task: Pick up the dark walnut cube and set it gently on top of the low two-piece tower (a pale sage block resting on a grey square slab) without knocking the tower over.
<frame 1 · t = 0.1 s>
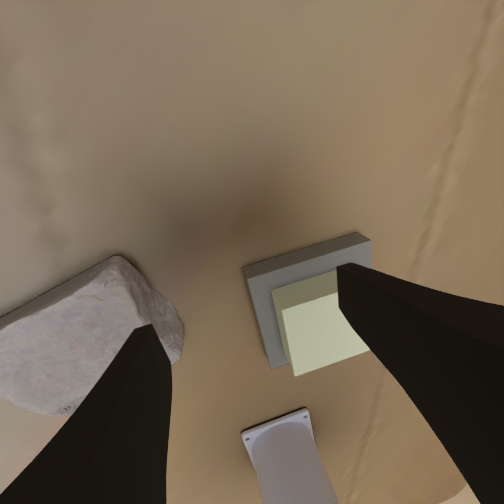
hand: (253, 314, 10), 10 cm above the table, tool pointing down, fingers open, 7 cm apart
grey square slab: (305, 293, 24), on the table, touching sage block
stone block: (100, 329, 21), on the table
sage block: (317, 310, 22), point 2 cm above the table, touching grey square slab
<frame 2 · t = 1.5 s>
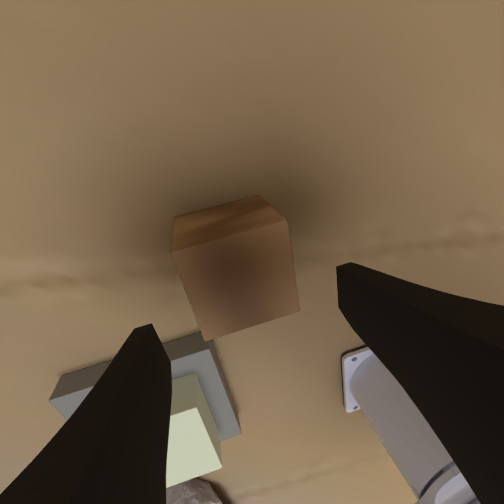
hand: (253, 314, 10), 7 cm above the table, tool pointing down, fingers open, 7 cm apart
walnut cube: (227, 243, 16), on the table
grey square slab: (162, 389, 21), on the table, touching sage block
sage block: (159, 420, 19), point 2 cm above the table, touching grey square slab
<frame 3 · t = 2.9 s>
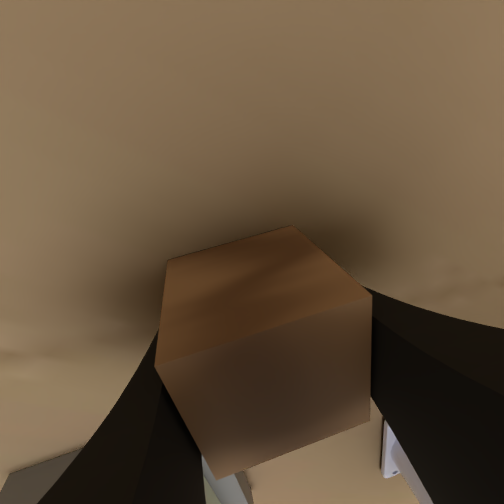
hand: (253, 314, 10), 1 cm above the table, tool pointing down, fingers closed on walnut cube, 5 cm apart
walnut cube: (245, 293, 11), on the table, touching gripper
grey square slab: (153, 470, 16), on the table, touching sage block
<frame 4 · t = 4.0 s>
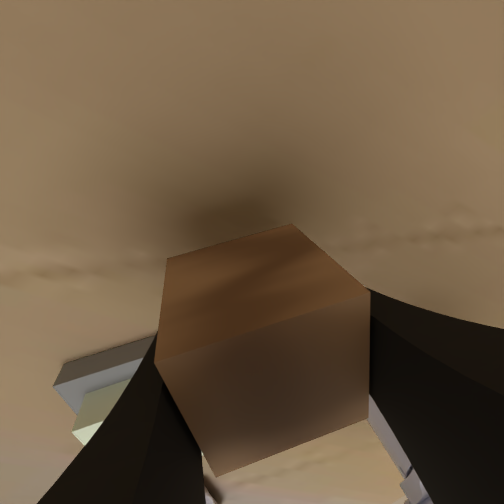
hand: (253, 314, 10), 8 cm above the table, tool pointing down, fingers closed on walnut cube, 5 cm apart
walnut cube: (244, 292, 11), point 7 cm above the table, touching gripper
grey square slab: (161, 378, 22), on the table, touching sage block
sage block: (157, 406, 20), point 2 cm above the table, touching grey square slab
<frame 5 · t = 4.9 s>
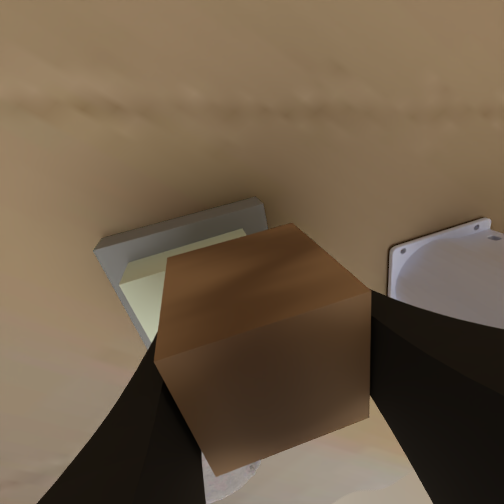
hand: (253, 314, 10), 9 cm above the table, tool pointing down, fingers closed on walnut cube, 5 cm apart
walnut cube: (244, 291, 11), point 7 cm above the table, touching gripper
grey square slab: (203, 276, 20), on the table
stone block: (202, 432, 27), on the table
sage block: (204, 291, 17), point 2 cm above the table
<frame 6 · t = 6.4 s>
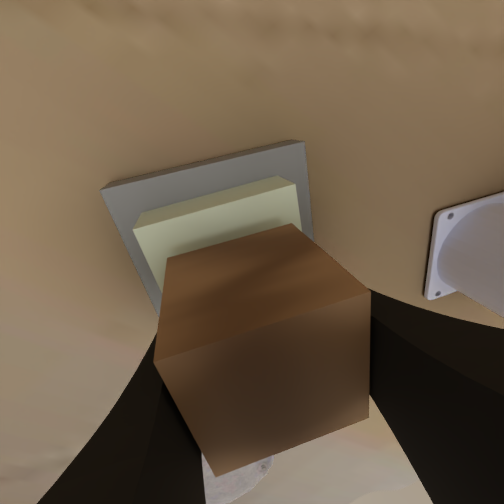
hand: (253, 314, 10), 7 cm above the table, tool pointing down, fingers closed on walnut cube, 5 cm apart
walnut cube: (244, 291, 11), point 6 cm above the table, touching gripper
grey square slab: (224, 238, 17), on the table, touching sage block
stone block: (208, 427, 24), on the table
sage block: (229, 253, 15), point 2 cm above the table, touching grey square slab
when the fingers open (7 cm above the table, at t = 6.8 s): walnut cube drops 1 cm, point 4 cm above the table.
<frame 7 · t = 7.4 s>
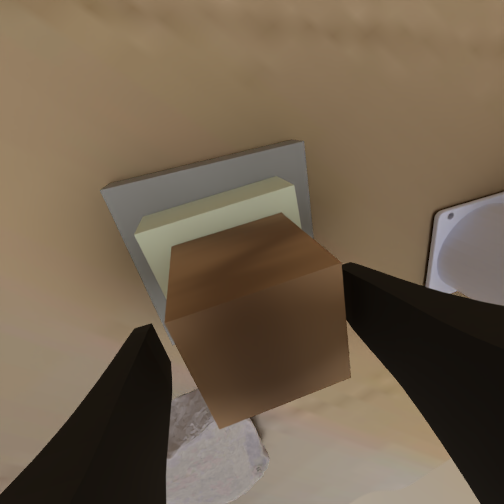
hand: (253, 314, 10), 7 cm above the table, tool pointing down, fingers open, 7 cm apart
walnut cube: (241, 275, 13), point 4 cm above the table
grey square slab: (224, 238, 17), on the table
stone block: (204, 430, 24), on the table
sage block: (230, 255, 15), point 2 cm above the table
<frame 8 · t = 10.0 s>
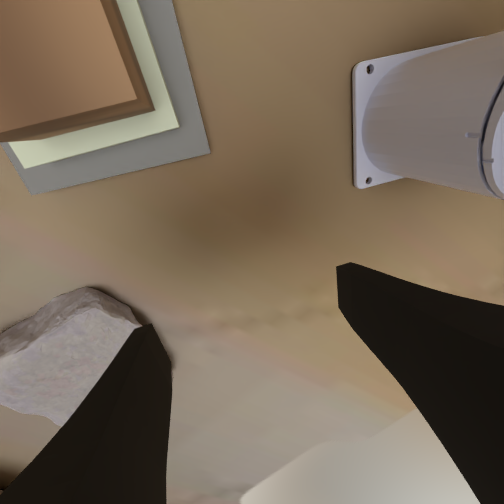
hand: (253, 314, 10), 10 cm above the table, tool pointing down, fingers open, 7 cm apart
walnut cube: (67, 56, 10), point 4 cm above the table
grey square slab: (96, 77, 15), on the table, touching sage block
stone block: (103, 347, 22), on the table
sage block: (82, 67, 12), point 2 cm above the table, touching grey square slab
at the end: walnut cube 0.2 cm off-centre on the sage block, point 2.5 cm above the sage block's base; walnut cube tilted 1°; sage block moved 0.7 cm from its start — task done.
